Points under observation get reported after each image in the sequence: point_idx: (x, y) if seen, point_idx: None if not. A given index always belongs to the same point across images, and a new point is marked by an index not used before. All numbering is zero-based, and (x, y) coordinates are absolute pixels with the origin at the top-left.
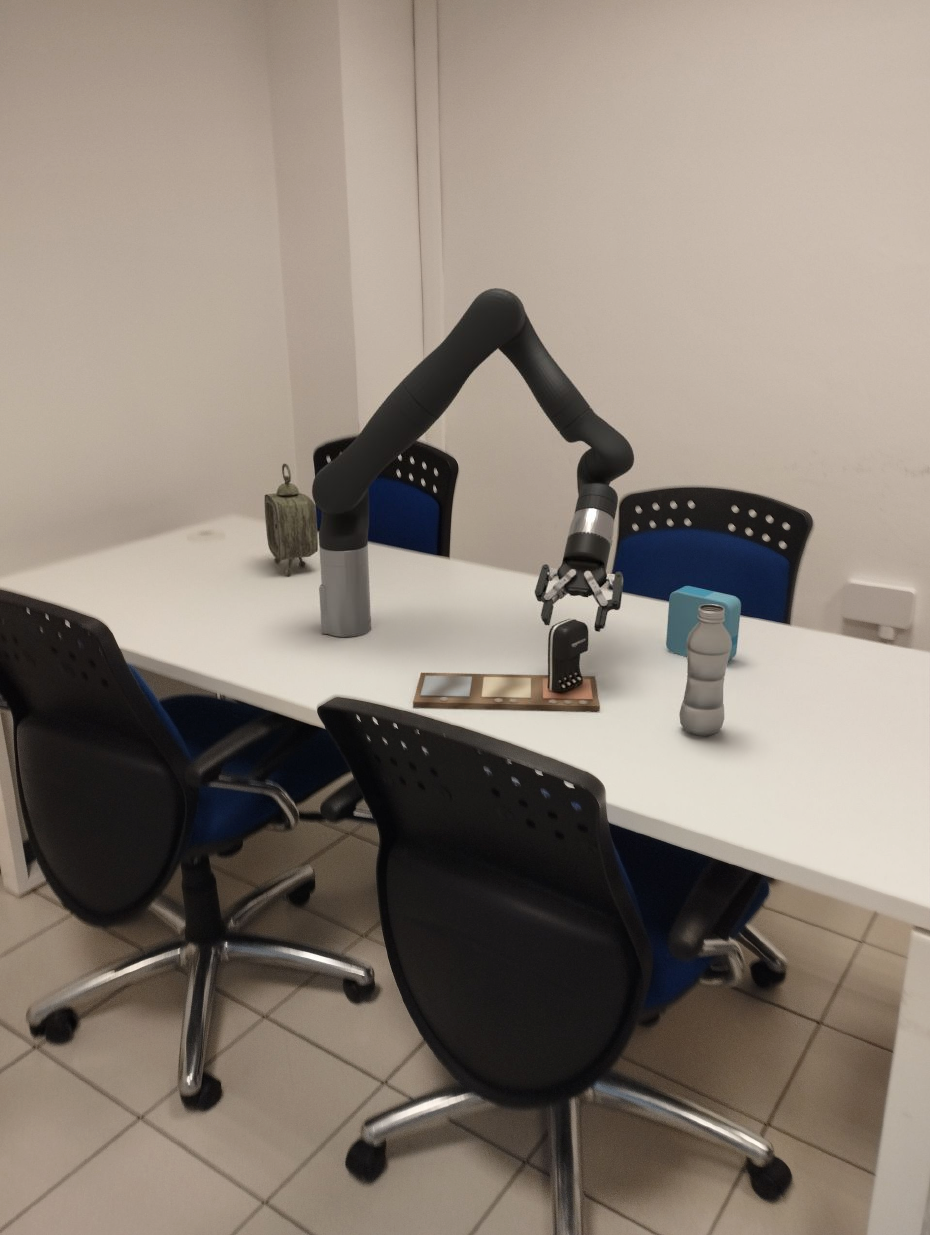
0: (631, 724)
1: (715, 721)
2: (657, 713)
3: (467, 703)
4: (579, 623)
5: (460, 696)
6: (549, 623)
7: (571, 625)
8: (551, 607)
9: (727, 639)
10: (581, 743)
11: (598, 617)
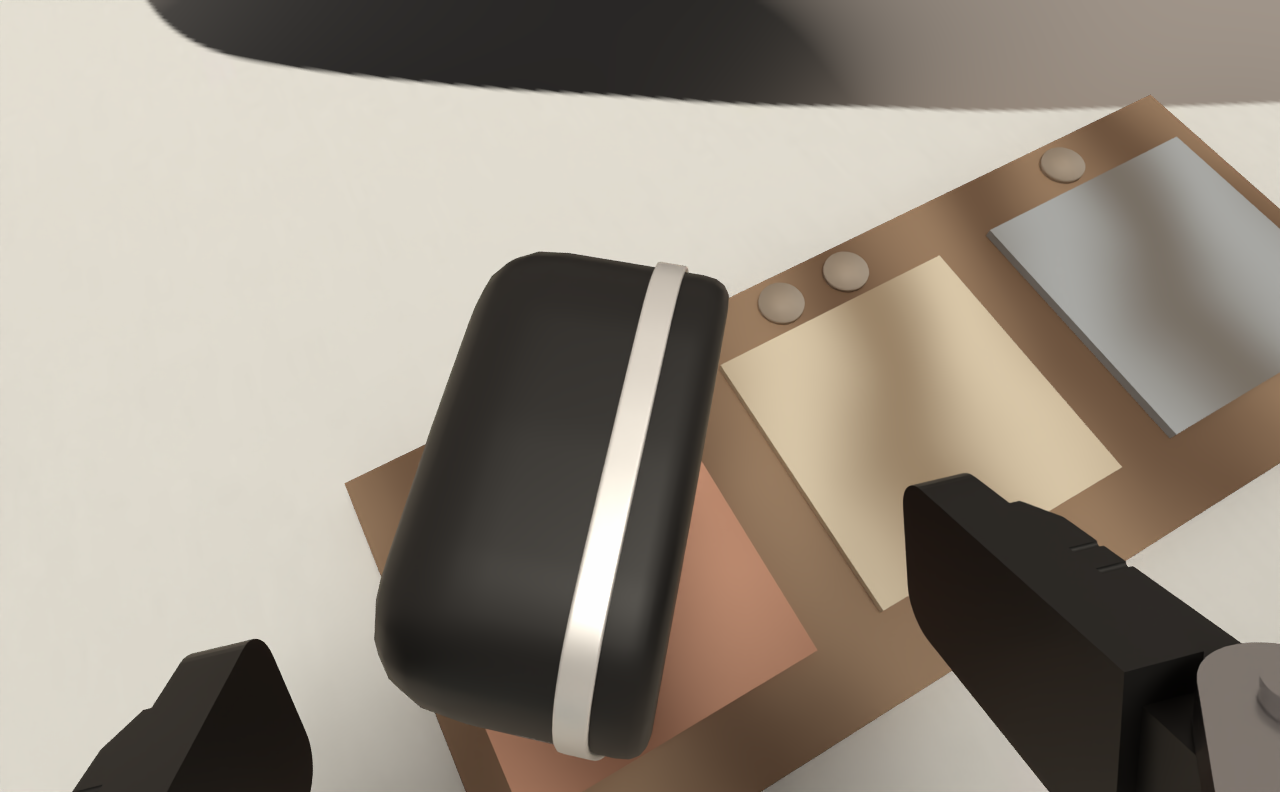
0: (163, 448)
1: None
2: (33, 652)
3: (950, 191)
4: (437, 512)
5: (1024, 215)
6: (925, 621)
7: (502, 383)
8: (1058, 698)
9: None
10: (344, 188)
11: (156, 744)
